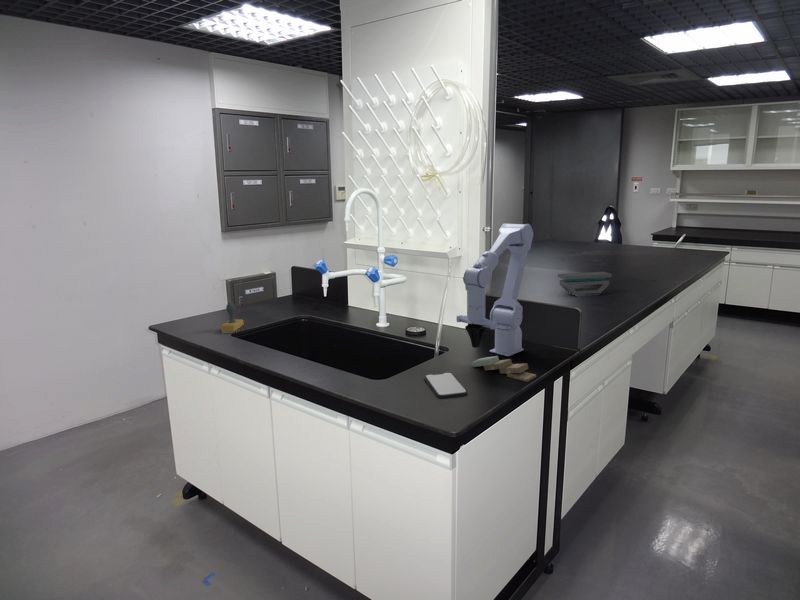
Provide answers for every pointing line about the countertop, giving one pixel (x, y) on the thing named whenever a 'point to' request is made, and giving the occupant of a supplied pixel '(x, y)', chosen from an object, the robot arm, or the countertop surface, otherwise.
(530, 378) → the maple domino
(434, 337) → the countertop surface
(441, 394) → the phone case
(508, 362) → the maple domino
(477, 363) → the domino sage
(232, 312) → the rubber stamp
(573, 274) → the sharpening stone
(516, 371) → the maple domino
